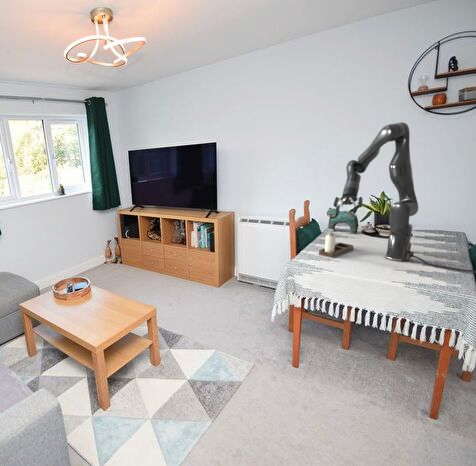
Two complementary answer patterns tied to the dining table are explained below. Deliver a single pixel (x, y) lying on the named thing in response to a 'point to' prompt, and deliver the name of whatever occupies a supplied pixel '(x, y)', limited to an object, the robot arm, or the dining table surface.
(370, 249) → the dining table surface
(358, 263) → the dining table surface
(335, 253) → the tray
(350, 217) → the ceramic cat
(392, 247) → the robot arm
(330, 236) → the dispenser
